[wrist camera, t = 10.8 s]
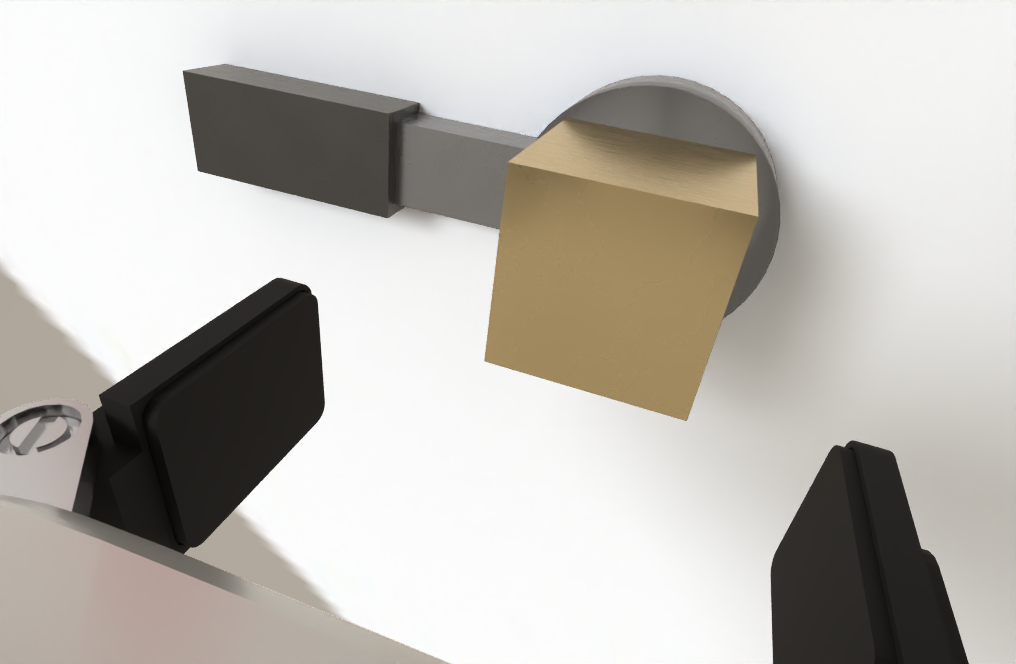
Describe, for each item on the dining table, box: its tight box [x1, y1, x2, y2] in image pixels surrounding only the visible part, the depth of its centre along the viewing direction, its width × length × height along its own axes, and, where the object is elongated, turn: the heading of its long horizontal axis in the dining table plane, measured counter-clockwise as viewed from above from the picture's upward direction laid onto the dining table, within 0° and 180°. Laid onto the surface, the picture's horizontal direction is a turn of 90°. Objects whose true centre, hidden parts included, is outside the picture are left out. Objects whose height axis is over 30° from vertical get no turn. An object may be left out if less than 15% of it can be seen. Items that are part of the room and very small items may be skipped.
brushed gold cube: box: [484, 117, 758, 421], centre depth 19 cm, size 6×6×6 cm
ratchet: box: [183, 64, 780, 318], centre depth 22 cm, size 9×23×6 cm, turn 83°
